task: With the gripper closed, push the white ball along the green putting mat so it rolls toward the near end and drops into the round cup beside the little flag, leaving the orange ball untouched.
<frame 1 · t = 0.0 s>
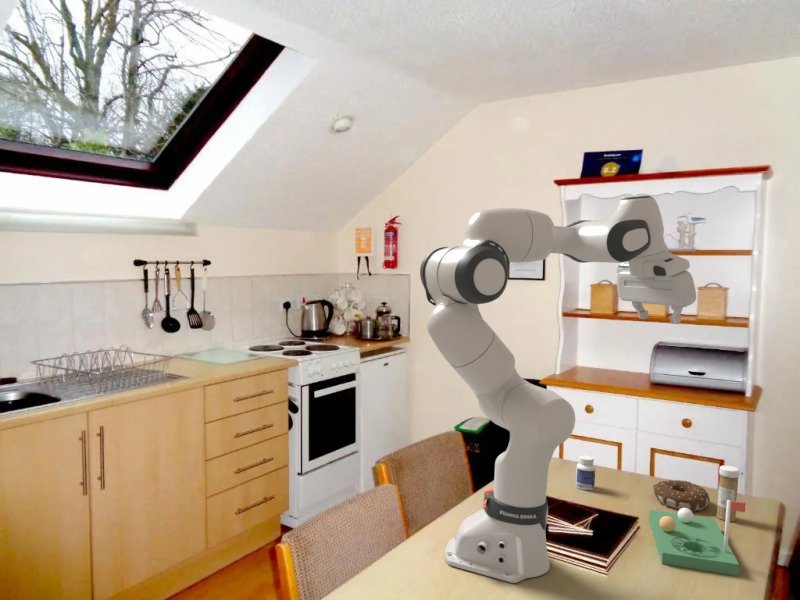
hand: (659, 320, 143), 52 cm above the table, tool tilted 20°, fingers open, 8 cm apart
putting mat: (689, 544, 142), on the table
donut: (679, 503, 168), on the table
sprinkles bottle: (725, 519, 158), on the table
pill bottle: (584, 488, 176), on the table
white ball: (685, 515, 149), point 4 cm above the table, touching putting mat
orange ball: (667, 523, 143), point 4 cm above the table, touching putting mat
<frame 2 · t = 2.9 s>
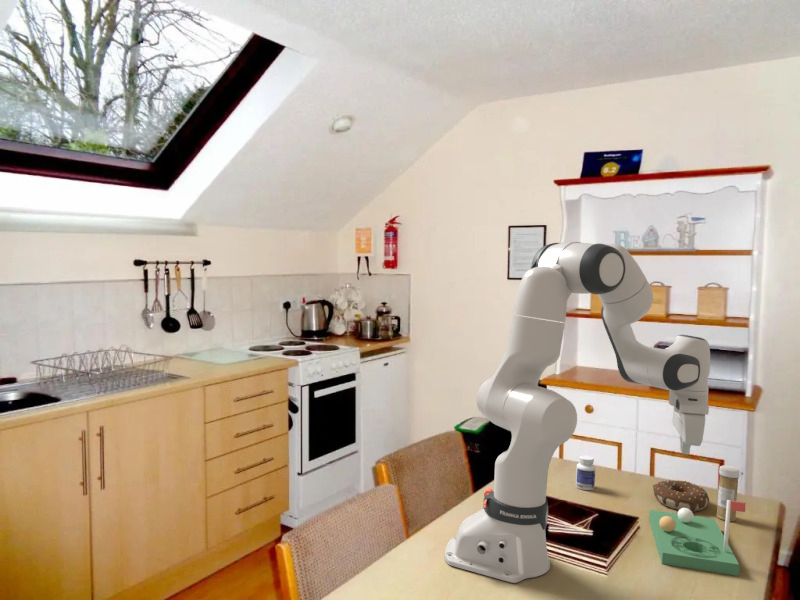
hand: (684, 452, 155), 18 cm above the table, tool pointing down, fingers closed
nothing on the table moved.
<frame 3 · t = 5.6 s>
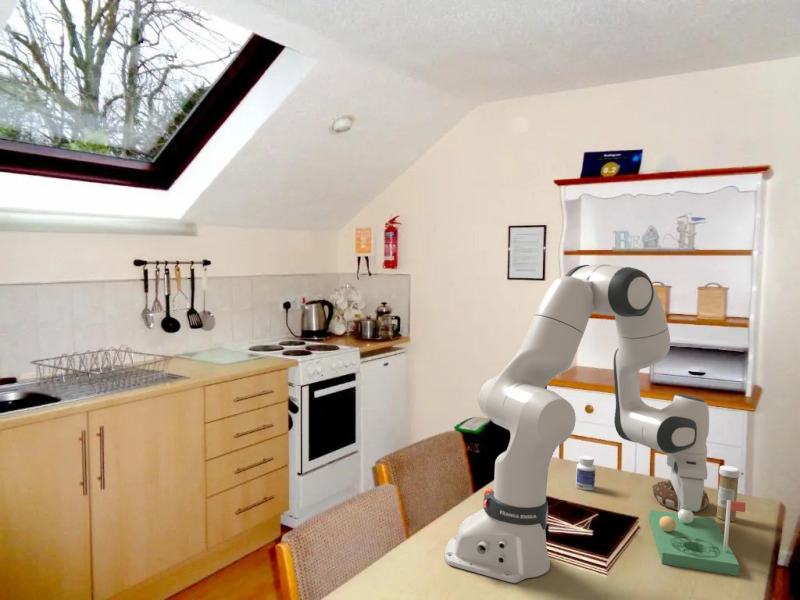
hand: (682, 514, 152), 3 cm above the table, tool pointing down, fingers closed
white ball: (685, 516, 148), point 4 cm above the table, tilted 14°, touching putting mat
everything else where it was.
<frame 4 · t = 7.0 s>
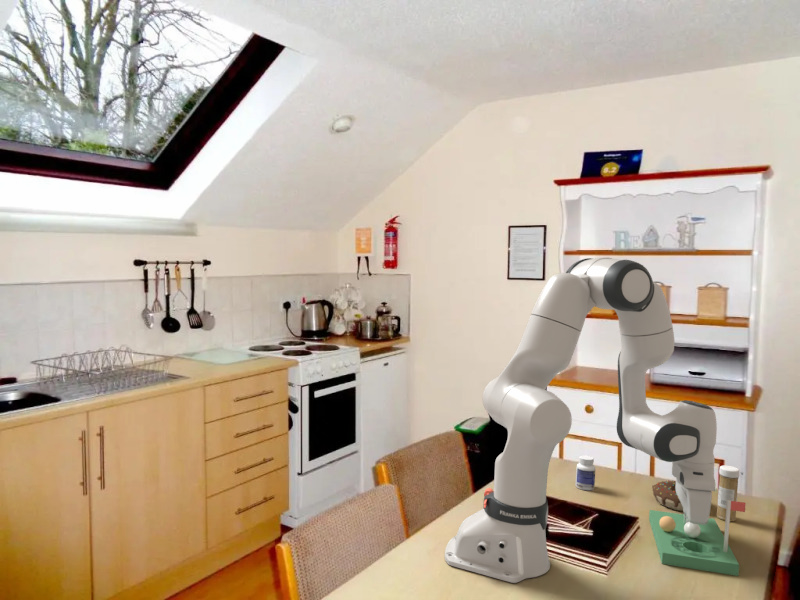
hand: (688, 527, 144), 3 cm above the table, tool pointing down, fingers closed
white ball: (692, 529, 141), point 4 cm above the table, tilted 90°, touching gripper, putting mat
everything else where it was.
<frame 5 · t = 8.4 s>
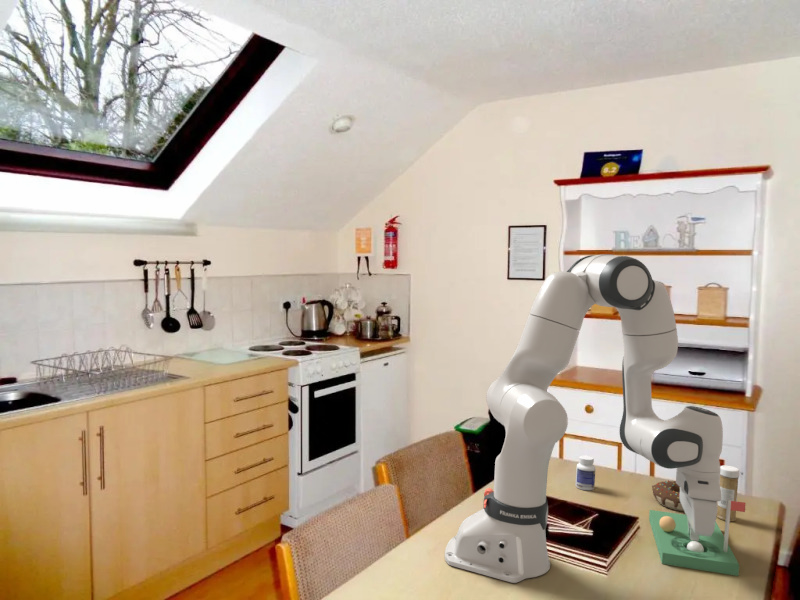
hand: (693, 537, 138), 3 cm above the table, tool pointing down, fingers closed
white ball: (695, 549, 136), point 2 cm above the table, tilted 84°, touching gripper
everything else where it was.
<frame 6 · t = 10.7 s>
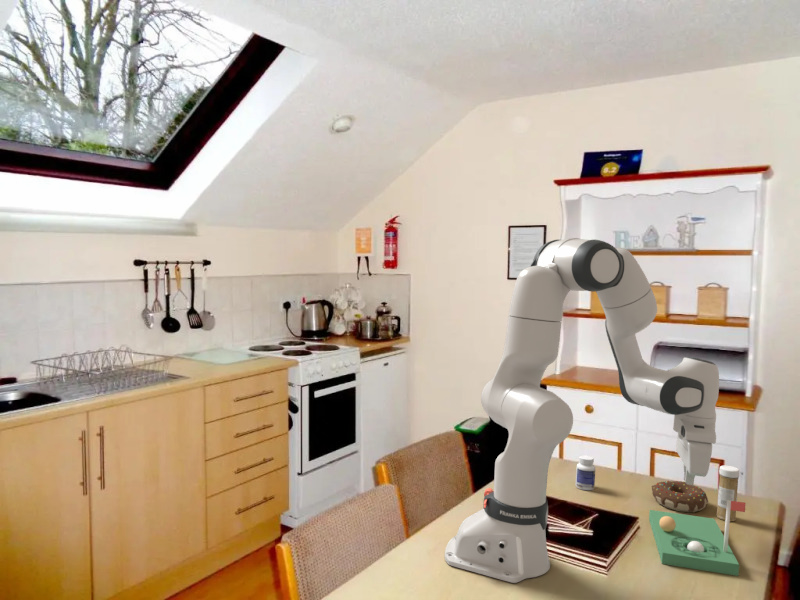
hand: (688, 482, 145), 13 cm above the table, tool pointing down, fingers closed
white ball: (695, 549, 136), point 2 cm above the table, tilted 82°
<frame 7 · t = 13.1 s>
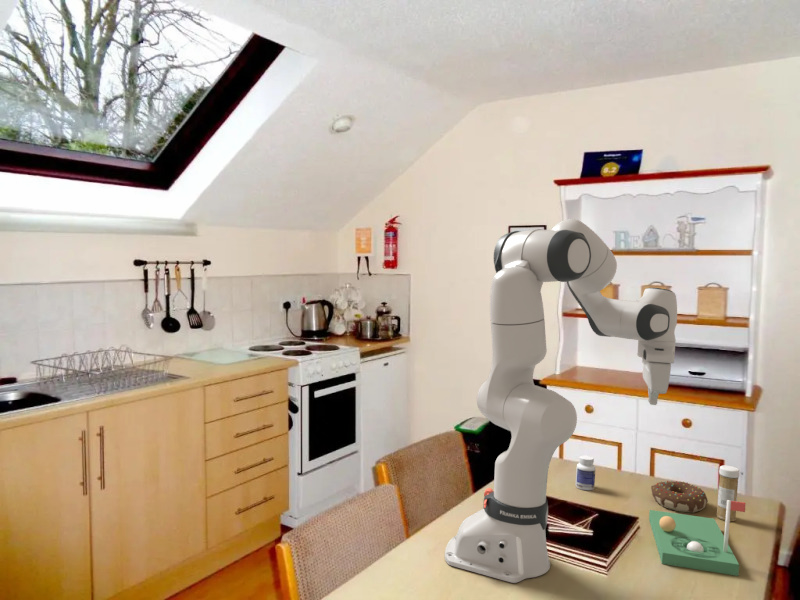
hand: (652, 403, 158), 29 cm above the table, tool pointing down, fingers closed
white ball: (695, 549, 136), point 2 cm above the table, tilted 90°
at the end: white ball 0.4 cm from the target spot on the putting mat, point 1.7 cm above the putting mat's base; orange ball moved 0.1 cm from its start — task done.
